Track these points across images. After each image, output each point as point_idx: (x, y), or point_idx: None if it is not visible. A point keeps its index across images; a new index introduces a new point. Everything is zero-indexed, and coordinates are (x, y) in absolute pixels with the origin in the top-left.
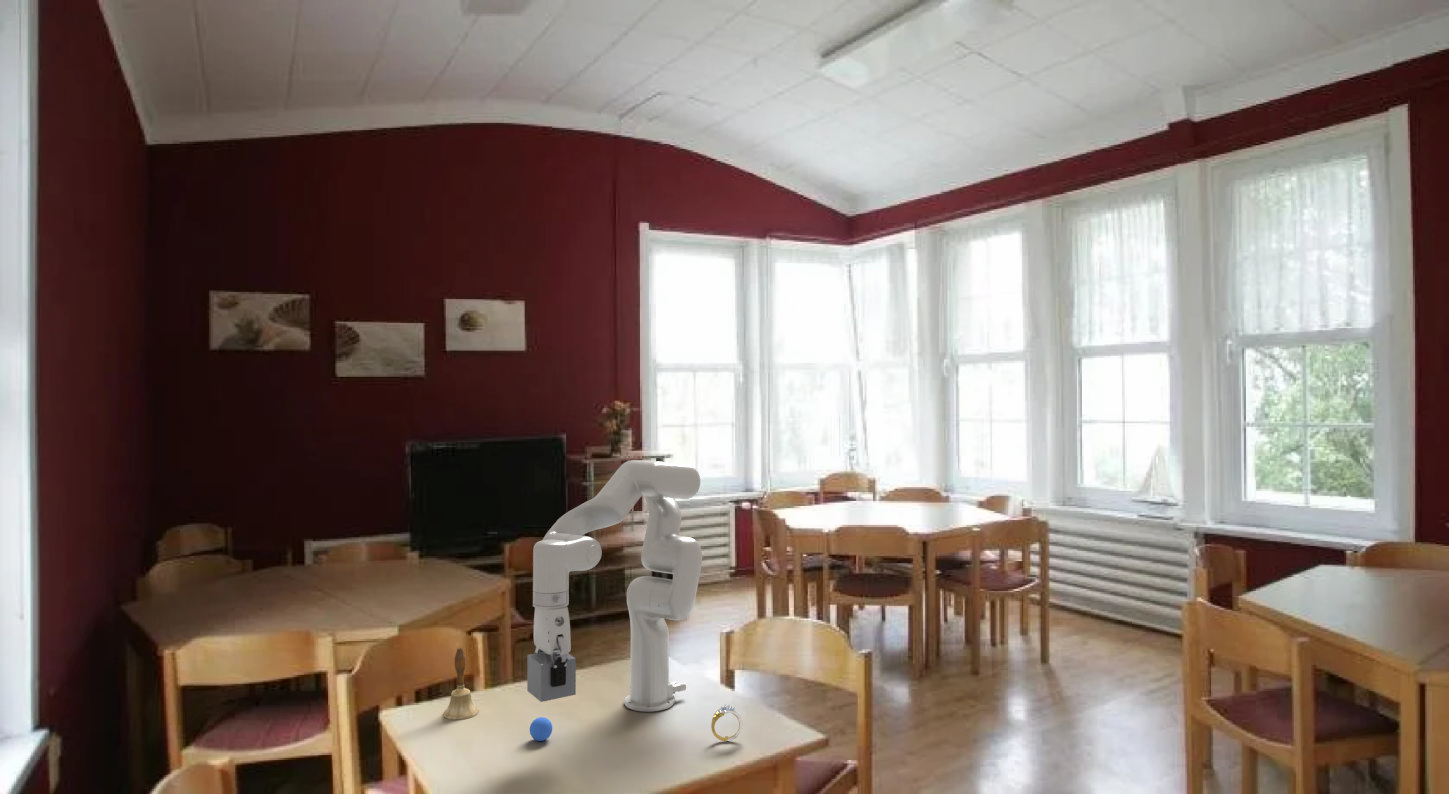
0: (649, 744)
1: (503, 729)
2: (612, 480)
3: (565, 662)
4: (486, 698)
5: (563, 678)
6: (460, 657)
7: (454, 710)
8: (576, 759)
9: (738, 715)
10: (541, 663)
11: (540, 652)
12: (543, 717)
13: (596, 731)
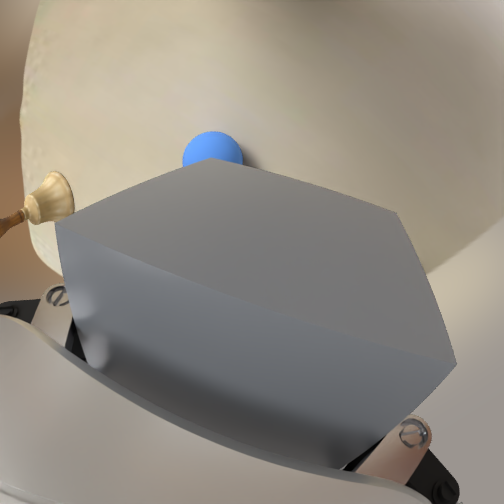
0: (435, 11)
1: (131, 182)
2: None
3: (443, 474)
4: (35, 139)
5: None
6: None
7: (57, 219)
8: (380, 172)
9: None
10: None
11: (78, 352)
12: (198, 157)
13: (275, 30)
